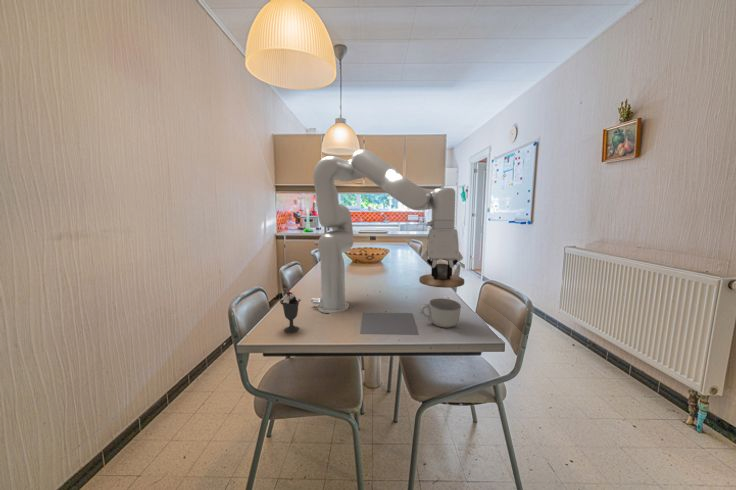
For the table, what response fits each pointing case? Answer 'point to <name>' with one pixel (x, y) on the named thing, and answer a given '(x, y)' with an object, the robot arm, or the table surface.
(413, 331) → the mat
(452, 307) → the teacup
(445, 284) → the lid
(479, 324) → the table surface
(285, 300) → the sundae
